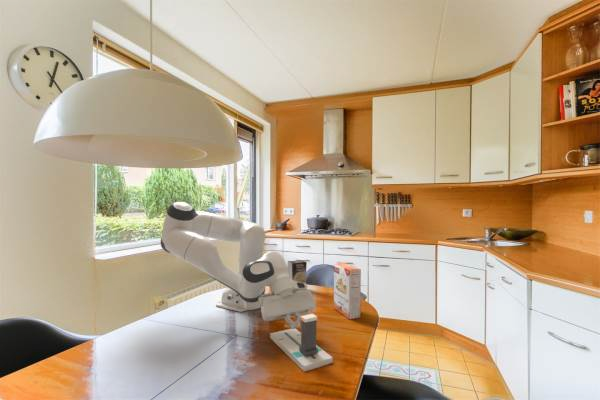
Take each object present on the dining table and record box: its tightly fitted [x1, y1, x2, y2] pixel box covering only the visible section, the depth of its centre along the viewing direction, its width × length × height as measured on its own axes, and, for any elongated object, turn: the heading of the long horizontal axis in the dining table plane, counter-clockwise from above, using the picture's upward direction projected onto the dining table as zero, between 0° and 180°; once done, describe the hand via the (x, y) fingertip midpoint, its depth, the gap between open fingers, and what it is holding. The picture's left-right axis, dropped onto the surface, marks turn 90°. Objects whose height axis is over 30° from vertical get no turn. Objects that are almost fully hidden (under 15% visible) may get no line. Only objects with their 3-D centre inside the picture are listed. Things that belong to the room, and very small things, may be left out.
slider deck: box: [269, 328, 334, 372], centre depth 95 cm, size 24×10×2 cm, turn 30°
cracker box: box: [333, 262, 362, 320], centre depth 128 cm, size 14×6×21 cm, turn 21°
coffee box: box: [286, 259, 307, 284], centre depth 161 cm, size 9×6×16 cm
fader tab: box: [299, 313, 318, 357], centre depth 90 cm, size 4×4×11 cm
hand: (296, 327), depth 98 cm, fingers closed
